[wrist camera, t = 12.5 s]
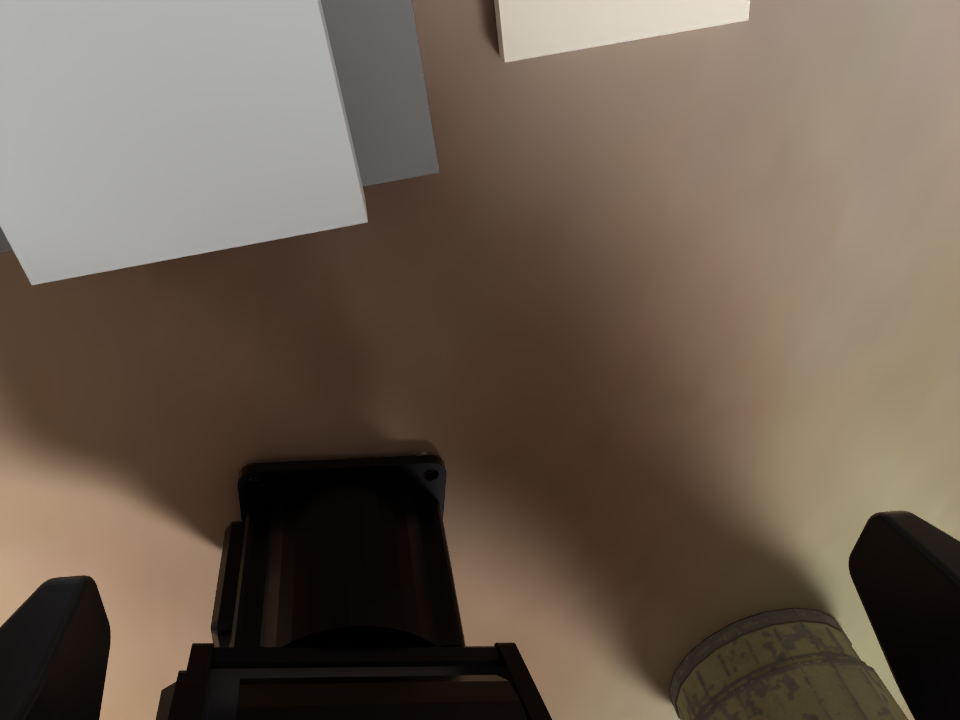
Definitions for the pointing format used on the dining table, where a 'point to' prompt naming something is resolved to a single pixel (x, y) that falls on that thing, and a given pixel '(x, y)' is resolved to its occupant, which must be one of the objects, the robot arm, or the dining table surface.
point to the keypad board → (378, 89)
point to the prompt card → (601, 22)
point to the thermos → (780, 673)
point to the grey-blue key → (167, 130)
